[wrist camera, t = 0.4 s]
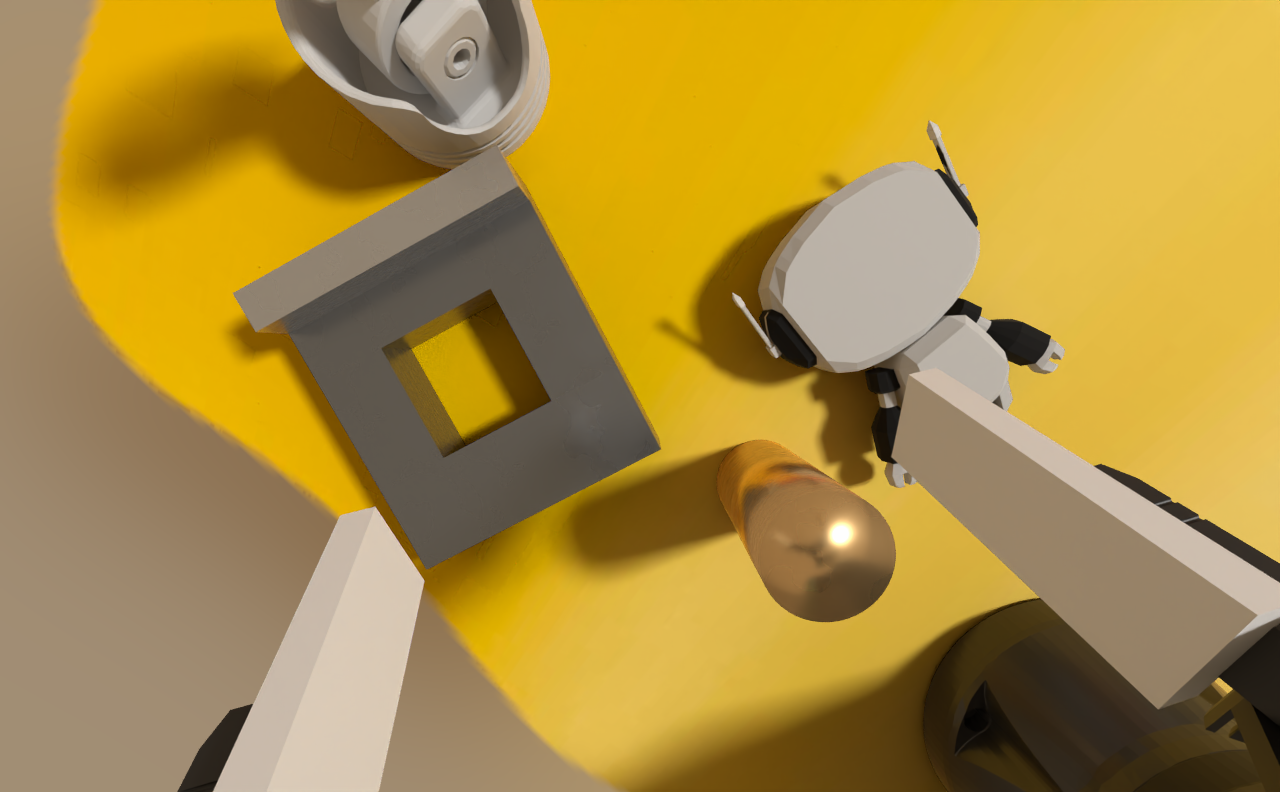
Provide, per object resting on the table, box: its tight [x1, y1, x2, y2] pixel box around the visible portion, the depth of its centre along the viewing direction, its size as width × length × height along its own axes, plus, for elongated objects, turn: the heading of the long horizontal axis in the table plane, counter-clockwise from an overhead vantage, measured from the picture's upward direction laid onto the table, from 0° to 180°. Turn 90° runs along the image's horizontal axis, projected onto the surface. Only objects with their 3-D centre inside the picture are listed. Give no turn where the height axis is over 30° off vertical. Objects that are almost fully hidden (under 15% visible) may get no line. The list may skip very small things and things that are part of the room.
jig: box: [233, 145, 661, 569], centre depth 24 cm, size 16×14×5 cm
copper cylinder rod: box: [717, 440, 896, 622], centre depth 22 cm, size 5×5×10 cm
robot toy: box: [732, 121, 1065, 488], centre depth 24 cm, size 12×4×15 cm
